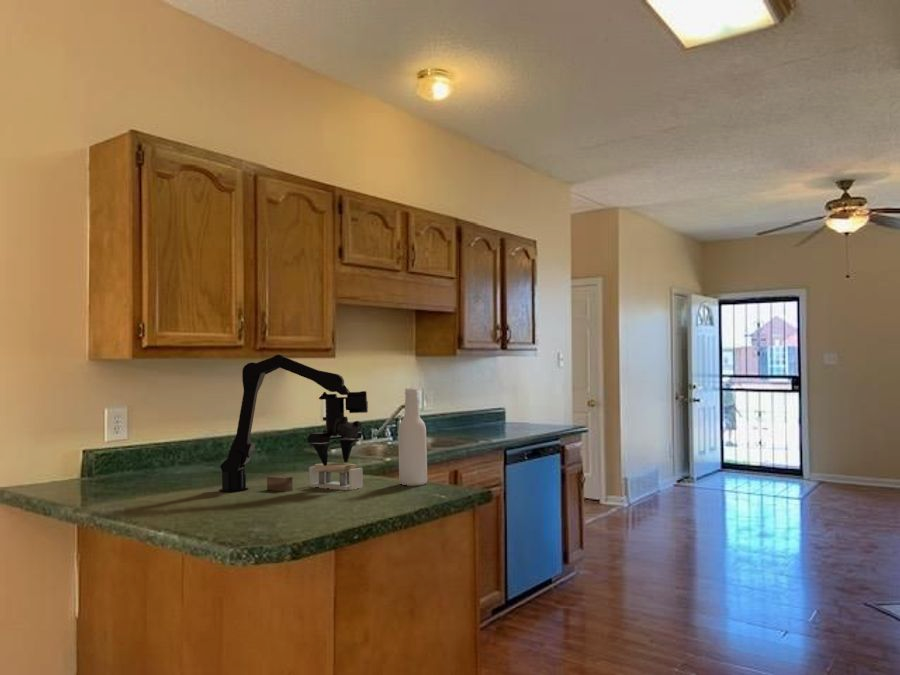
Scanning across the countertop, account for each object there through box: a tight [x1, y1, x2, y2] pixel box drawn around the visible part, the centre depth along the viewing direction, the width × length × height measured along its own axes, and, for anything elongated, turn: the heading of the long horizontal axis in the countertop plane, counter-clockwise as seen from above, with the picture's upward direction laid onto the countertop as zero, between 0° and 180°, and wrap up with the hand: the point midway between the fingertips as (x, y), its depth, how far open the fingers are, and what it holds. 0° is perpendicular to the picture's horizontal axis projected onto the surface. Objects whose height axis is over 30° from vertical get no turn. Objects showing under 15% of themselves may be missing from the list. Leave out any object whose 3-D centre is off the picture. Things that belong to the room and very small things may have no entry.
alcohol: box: [397, 387, 428, 487], centre depth 218 cm, size 9×9×30 cm
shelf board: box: [314, 461, 357, 474], centre depth 216 cm, size 6×12×2 cm, turn 56°
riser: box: [266, 475, 293, 493], centre depth 212 cm, size 3×8×4 cm, turn 56°
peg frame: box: [308, 465, 364, 491], centre depth 216 cm, size 7×18×6 cm, turn 56°
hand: (335, 463), depth 216 cm, fingers open, 9 cm apart
